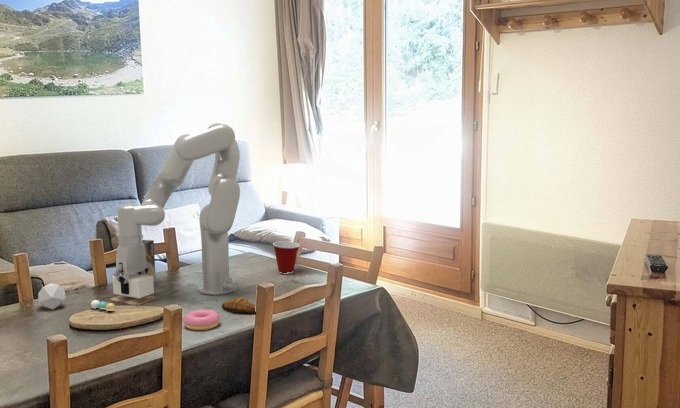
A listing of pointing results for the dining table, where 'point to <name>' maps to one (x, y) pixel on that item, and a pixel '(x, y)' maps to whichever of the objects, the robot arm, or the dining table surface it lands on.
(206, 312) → the doughnut
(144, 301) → the tan flat pointed slab
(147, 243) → the coffee box
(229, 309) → the croissant
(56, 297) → the die
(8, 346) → the dining table surface
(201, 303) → the dining table surface
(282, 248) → the plastic cup
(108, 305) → the marble amber
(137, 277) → the white rounded block
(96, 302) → the marble white
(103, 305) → the marble teal
